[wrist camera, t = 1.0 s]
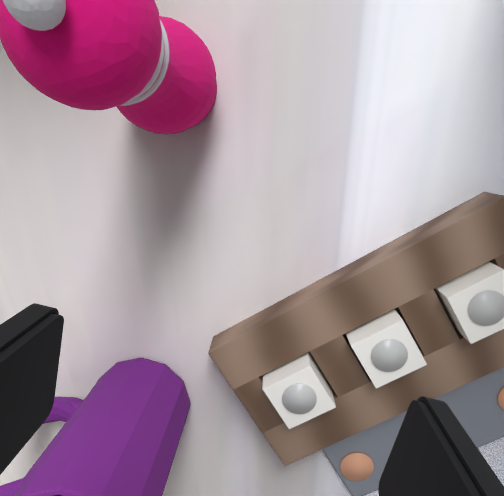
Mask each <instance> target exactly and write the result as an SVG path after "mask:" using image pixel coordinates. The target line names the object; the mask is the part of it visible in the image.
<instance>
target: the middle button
mask: <svg viewBox="0 0 504 496" xmlns="http://www.w3.org/2000/svg"><path fill="white" fill-rule="evenodd" d="M346 335H347V338H348V340H349V343H350V345H351V347H352V349H353V350H354V352H355V354H356V355H357V357H358V359H359V360H360V362H361V364H362V365H363V367H364V369H365V371H366V372H367V374H368V376H369V377H370V379H371V381H372V382H373V384H374V386H375V388H379V387H381V386H383V385H385V384H387V383H389V382H391V381H393V380H396V379H398V378H400V377H402V376H404V375H406V374H408V373H411V372H413V371H415V370H417V369H419V368H421V367H423V366H425V365H427V363H426V361H425V360H424V358H423V356H422V354H421V352H420V351H419V349H418V347H417V345H416V343H415V341H414V340H413V338H412V336H411V334H410V332H409V330H408V329H407V327H406V325H405V323H404V321H403V320H402V318H401V317H400V316H399V314H398V313H397V312H396V310H395V309H393V310H391V311H389V312H387V313H385V314H383V315H381V316H379V317H377V318H375V319H373V320H371V321H369V322H367V323H365V324H363V325H361V326H359V327H357V328H355V329H353V330H351V331H349V332H347V333H346Z"/></svg>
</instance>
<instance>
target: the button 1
mask: <svg viewBox="0 0 504 496" xmlns="http://www.w3.org/2000/svg"><path fill="white" fill-rule="evenodd" d="M262 389H263V391H264V392H265V394H266V395H267V397H268V398H269V400H270V401H271V403H272V404H273V406H274V407H275V409H276V410H277V412H278V413H279V415H280V416H281V418H282V419H283V421H284V422H285V424H286V425H287V427H288V428H289V429H291V428H293V427H295V426H297V425H300V424H302V423H304V422H306V421H308V420H310V419H312V418H315V417H317V416H319V415H321V414H323V413H325V412H327V411H329V410H332V409H334V408H336V405H335V401H334V397H333V393H332V389H331V385H330V384H329V382H328V381H327V379H326V377H325V376H324V374H323V372H322V371H321V369H320V368H319V366H318V364H317V363H316V361H315V359H314V358H313V356H312V355H311V353H310V351H309V352H307V353H305V354H303V355H301V356H299V357H297V358H295V359H293V360H291V361H289V362H287V363H285V364H283V365H282V366H280V367H278V368H276V369H274V370H272V371H270V372H268V373H266V374H264V375H263V387H262Z"/></svg>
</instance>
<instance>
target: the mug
mask: <svg viewBox="0 0 504 496" xmlns="http://www.w3.org/2000/svg"><path fill="white" fill-rule="evenodd" d="M189 407H190V400H189V397H188V394H187V391H186V388H185V385H184V381H183V380H182V379H181V378H180V377H178V376H177V375H176V374H175V373H174V372H173V371H172V370H171V369H170V368H169V367H168V366H166V365H165V364H162V363H158V362H155V361H151V360H148V359H144V358H137V359H132V360H127V361H122V362H118V363H116V364H115V365H114V366H113V367H112V368H111V369H109V370H108V371H107V372H106V373H105V374H104V375H103V376H102V377H101V378H100V379H99V380H98V382H97V383H96V385H95V386H94V387H93V389H92V390H91V391H90V393H89V394H88V395H87V397H86V398H85V399H84V400H81V399H78V398H74V397H54V404H53V407H52V410H51V412H50V414H49V416H48V417H47V419H46V420H45V421H44V422H43V424H44V423H49V422H54V421H64V422H66V423H65V425H64V426H63V427H62V429H61V430H60V431H59V433H58V434H57V435H56V436H55V438H54V439H53V440H52V442H51V443H50V444H49V446H48V447H47V448H46V450H45V451H44V452H43V454H42V455H41V456H40V457H39V459H38V460H37V461H36V463H35V464H34V465H33V467H32V468H31V469H30V471H29V472H28V473H27V475H26V476H25V477H24V478H22V479H19V480H16V481H13V482H10V483H7V484H4V485H1V486H0V496H162V494H163V491H164V488H165V485H166V481H167V478H168V475H169V472H170V469H171V466H172V462H173V459H174V456H175V453H176V450H177V446H178V443H179V440H180V437H181V434H182V431H183V427H184V424H185V421H186V417H187V414H188V410H189Z"/></svg>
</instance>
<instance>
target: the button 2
mask: <svg viewBox="0 0 504 496" xmlns="http://www.w3.org/2000/svg"><path fill="white" fill-rule="evenodd" d="M434 290H435V292H436V294H437V296H438V298H439V300H440V302H441V304H442V306H443V308H444V310H445V312H446V314H447V315H448V317H449V319H450V321H451V323H452V325H453V327H454V328H455V329H456V330H457V331H458V332H459V333H460V334H461V335H462V336H463V337H464V338H465V339H466V340H467V341H468V342H469V343H470V344H472V343H475V342H477V341H479V340H481V339H483V338H485V337H487V336H489V335H492V334H494V333H496V332H498V331H500V330H502V329H504V269H502V268H500V267H498V266H496V265H494V264H493V263H491V262H487V263H485V264H483V265H481V266H479V267H477V268H475V269H473V270H471V271H469V272H467V273H465V274H463V275H461V276H459V277H457V278H455V279H453V280H451V281H449V282H447V283H445V284H443V285H441V286H439V287H437V288H435V289H434Z"/></svg>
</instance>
